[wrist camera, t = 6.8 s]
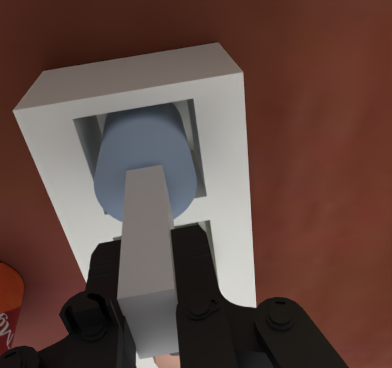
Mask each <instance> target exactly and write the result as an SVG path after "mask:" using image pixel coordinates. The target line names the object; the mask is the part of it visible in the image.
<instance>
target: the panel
mask: <svg viewBox="0 0 392 368" xmlns="http://www.w3.org/2000/svg"><path fill="white" fill-rule="evenodd" d="M169 102H172V103H173V104H174V105H175V106H176V108H177V109H178V111H179V112H180V115H181V117H182V121H183V125H184V129H185V133H186V137H187V141H188V145H189V148H190V152H191V156H192V160H193V164H194V168H195V172H196V177H197V190H196V194H195V197H194V199H193V201H192V203H191V204H190V206H189V207H188V208H187V209H186V210H185V211H184V212H183V213H182V214H181V215H180V216H178V217H177V218H175V219H174V226H179V225H185V224H190V223H196V222H198V223H199V226H200V227H201V228H202V229H203V230H204V231H205V232H206V233H207V238H208V242H209V246H210V251H211V255H212V260H213V264H214V268H215V273H216V277H217V281H218V286H219V289H220V292H221V294H222V295H223V296H224V297H225V298H226V299H227V300H228V301H230V302H231V303H234V304H236V305H240V306H245V307H254V308H256V294H255V276H254V258H253V240H252V222H251V204H250V186H249V168H248V150H247V132H246V114H245V96H244V78H243V71H242V70H241V69H240V68H239V66H238V65H237V64H236V63H235V62H234V60H233V59H232V58H231V57H230V56H229V54H228V53H227V52H226V51H225V50H224V48H223V47H222V46H221V45H220V44H219V42H217V43H211V44H205V45H199V46H193V47H186V48H180V49H174V50H168V51H162V52H156V53H150V54H144V55H138V56H132V57H125V58H119V59H113V60H107V61H101V62H95V63H89V64H83V65H77V66H71V67H64V68H58V69H52V70H46V71H43V72H42V73H41V74H40V76H39V77H38V78H37V80H36V81H35V82H34V84H33V85H32V86H31V87H30V89H29V90H28V91H27V93H26V94H25V95H24V97H23V98H22V99H21V100H20V102H19V103H18V104H17V106H16V107H15V108H14V110H13V113H14V115H15V117H16V120H17V122H18V125H19V127H20V129H21V132H22V134H23V136H24V139H25V141H26V143H27V146H28V148H29V150H30V153H31V155H32V157H33V160H34V162H35V164H36V167H37V169H38V171H39V174H40V176H41V178H42V181H43V183H44V185H45V188H46V190H47V192H48V195H49V197H50V199H51V202H52V204H53V206H54V209H55V211H56V213H57V216H58V218H59V220H60V223H61V225H62V227H63V230H64V232H65V234H66V237H67V239H68V241H69V244H70V246H71V248H72V251H73V253H74V255H75V258H76V260H77V262H78V265H79V267H80V269H81V272H82V274H83V276H84V279H85V281H86V283H87V279H88V271H89V269H90V268H89V265H90V259H91V254H92V253H93V251H94V250H95V248H96V247H97V245H98V244H99V243H104V242H109V241H115V240H120V239H121V237H122V223H123V222H120V221H118V220H117V219H115V218H113V217H112V216H110V215H109V214H108V213H107V212H106V211H105V210H104V209H103V208H102V207H101V205H100V204H99V202H98V200H97V198H96V195H95V191H94V177H95V172H96V166H97V161H98V156H99V151H100V146H101V140H102V135H103V130H104V125H105V120H106V116H107V114H108V113H110V112H116V111H122V110H128V109H134V108H140V107H146V106H152V105H158V104H163V103H169ZM136 367H137V368H158V367H157V365H156V362H155V357H150V358H144V359H139V357H138V354H137V352H136Z"/></svg>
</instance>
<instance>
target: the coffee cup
mask: <svg viewBox="0 0 392 368" xmlns="http://www.w3.org/2000/svg"><path fill="white" fill-rule="evenodd" d="M23 294H24V282H23V280H22V278H21V276H20V275H19V274H18V272H17V271H16V270H14V269H13V268H12V267H10V266H9V265H7V264H5V263H3V262H0V356H1V355H2V354H3V353H5V352H6V351H8V350H10V349H11V346H12V342H13V338H14V334H15V330H16V325H17V321H18V317H19V313H20V309H21V304H22V300H23Z"/></svg>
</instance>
